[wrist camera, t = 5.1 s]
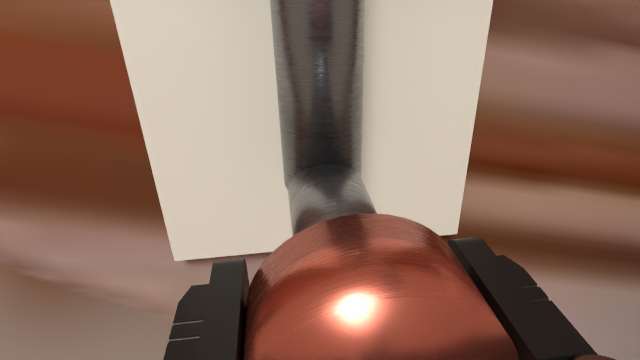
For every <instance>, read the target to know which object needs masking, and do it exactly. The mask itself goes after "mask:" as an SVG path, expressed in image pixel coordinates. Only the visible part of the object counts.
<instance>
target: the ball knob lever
mask: <svg viewBox="0 0 640 360" xmlns="http://www.w3.org/2000/svg"><path fill="white" fill-rule="evenodd" d="M270 9H271V21H272V34H273V46H274V59H275V71H276V84H277V96H278V109H279V121H280V134H281V146H282V159H283V171H284V183H285V186H286V188H287V189H288V196H289V206H290V216H291V226H292V237H291V238H289V239H288V240H286V241H285V242H283V243H282V244H281V245H280V246H279V247H278V248H277V249H275V250H274V251H273V252H272V253H271V254H270V255H269V256H268V258H267V259H266V260H265V261H264V262H263V263H262V265H261V266H260V268H259V269H258V271H257V272H256V274H255V276H254V278H253V280H252V282H251V285H250V288H249V291H248V295H247V301H246V313H245V329H244V346H243V360H519V357H518V352H517V350H516V348H515V346H514V343H513V341H512V340H511V338H510V337H509V335H508V334H507V332H506V331H505V329H504V328H503V326H502V325H501V323H500V322H499V320H498V319H497V317H496V316H495V314H494V312H493V311H492V309H491V308H490V306H489V305H488V303H487V302H486V300H485V299H484V297H483V296H482V294H481V293H480V291H479V290H478V288H477V287H476V285H475V284H474V282H473V281H472V279H471V278H470V276H469V275H468V273H467V272H466V270H465V269H464V267H463V266H462V264H461V262H460V261H459V259H458V258H457V256H456V255H455V253H454V252H453V251H452V249H451V248H450V246H449V245H448V244H447V243H446V242H445V241H444V240H443V239H442V238H441V237H440V236H439V235H438V234H436V233H435V232H434V231H432V230H431V229H429V228H428V227H426V226H424V225H422V224H420V223H418V222H415V221H412V220H409V219H406V218H403V217H398V216H394V215H388V214H377V212H376V210H375V207H374V205H373V203H372V201H371V199H370V196H369V194H368V192H367V190H366V188H365V185H364V183H363V181H362V179H361V170H362V119H363V68H364V18H365V0H270Z"/></svg>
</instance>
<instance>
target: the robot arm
mask: <svg viewBox="0 0 640 360" xmlns="http://www.w3.org/2000/svg"><path fill="white" fill-rule="evenodd" d="M447 244H448V245H449V246H450V248H451V249H452V251H453V252H454V253H455V255H456V256H457V258H458V259H459V261H460V262H461V264H462V266H463V267H464V269H465V270H466V272H467V273H468V275H469V276H470V278H471V279H472V281H473V282H474V284H475V285H476V287H477V288H478V290H479V291H480V293H481V294H482V296H483V297H484V299H485V300H486V302H487V303H488V305H489V306H490V308H491V309H492V311H493V312H494V314H495V316H496V317H497V319H498V320H499V322H500V323H501V325H502V326H503V328H504V329H505V331H506V332H507V334H508V335H509V337H510V338H511V340H512V341H513V343H514V346H515V348H516V350H517V352H518V357H519V360H615V359H612V358H609V357H606V356H601V355H598V354H597V353H596V352H595V351H594V350H593V349H592V348H591V346H590V345H589V344H588V343H587V342H586V341H585V339H584V338H583V337H582V336H581V335H580V334H579V332H578V331H577V330H576V329H575V328H574V327H573V325H572V324H571V323H570V322H569V321H568V320H567V318H566V317H565V316H564V315H563V314H562V313H561V311H560V310H559V309H558V308H557V307H556V306H555V304H554V303H553V302H552V301H549V299H548V296H547V295H546V294H545V293H544V291H543V290H542V289H541V288H540V287H537V283H536V282H535V281H534V280H533V279H532V277H531V276H530V275H529V274H528V273H527V272H526V270H525V269H524V268H523V267H521V266H520V265H518V264H517V263H515V262H513V261H512V260H510V259H509V258H507V257H506V256H504V255H501V256H496V255H495V254H494V252H493V251H492V250H491V249H490V247H489V246H488V245H487V244H486V242H485V241H484V240H483V239H482V238H480V237H474V238H463V239H453V240H449V241H448V243H447ZM249 288H250V287H249V280H248V273H247V266H246V261H245V259H237V260H226V261H216V262H214V263H213V266H212V271H211V277H210V282H209V284H205V285H195V286H191V287H190V289H189V290H188V291H187V293H186V294H185V295H184V296H183V298H182V299H181V300H180V301H179V303H178V306H177V310H176V314H175V318H174V321H173V326H172V329H171V333H170V337H169V343H168V344H167V348H166V353H165V356H164V360H243V346H244V329H245V313H246V301H247V295H248V291H249Z"/></svg>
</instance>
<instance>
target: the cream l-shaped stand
mask: <svg viewBox="0 0 640 360" xmlns="http://www.w3.org/2000/svg"><path fill="white" fill-rule="evenodd" d="M110 2H111V6H112V10H113V14H114V18H115V23H116V27H117V31H118V35H119V39H120V43H121V47H122V51H123V55H124V59H125V63H126V67H127V71H128V75H129V79H130V83H131V87H132V91H133V95H134V99H135V103H136V107H137V111H138V115H139V119H140V124H141V128H142V132H143V136H144V140H145V144H146V148H147V152H148V156H149V160H150V164H151V168H152V172H153V176H154V180H155V184H156V188H157V192H158V196H159V200H160V204H161V208H162V212H163V216H164V220H165V225H166V229H167V233H168V237H169V241H170V245H171V249H172V253H173V257H174V261H181V260H192V259H202V258H213V257H223V256H233V255H244V254H254V253H265V252H273V251H274V250H275V249H277V248H278V247H279V246H280V245H281V244H282V243H283V242H285V241H286V240H288V239H289V238H291V237H292V226H291V216H290V206H289V196H288V189H287V188H286V186H285V183H284V171H283V159H282V146H281V134H280V121H279V109H278V96H277V84H276V71H275V59H274V46H273V34H272V21H271V9H270V0H110ZM492 5H493V0H365V18H364V68H363V119H362V170H361V179H362V181H363V183H364V185H365V188H366V190H367V192H368V194H369V196H370V199H371V201H372V203H373V205H374V207H375V210H376V212H377V214H388V215H394V216H398V217H403V218H406V219H409V220H412V221H415V222H418V223H420V224H422V225H424V226H426V227H428V228H429V229H431V230H432V231H434V232H435V233H436V234H438V235H439V236H441V235H452V234H457V231H458V225H459V218H460V212H461V205H462V199H463V193H464V186H465V180H466V173H467V167H468V160H469V154H470V147H471V141H472V134H473V128H474V121H475V115H476V108H477V102H478V95H479V89H480V82H481V76H482V69H483V63H484V56H485V50H486V43H487V37H488V31H489V24H490V18H491V11H492Z"/></svg>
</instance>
